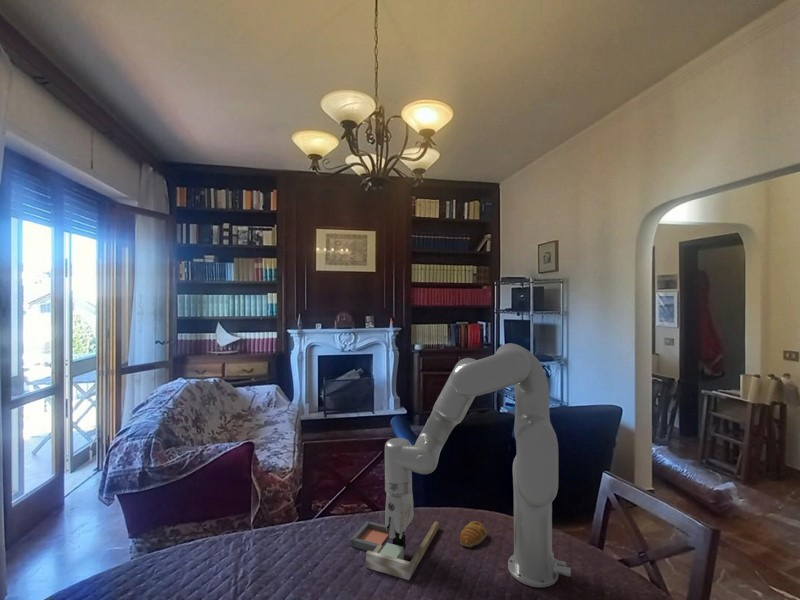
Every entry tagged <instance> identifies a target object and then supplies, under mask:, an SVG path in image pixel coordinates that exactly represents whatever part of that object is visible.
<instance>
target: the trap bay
mask: <svg viewBox="0 0 800 600" xmlns="http://www.w3.org/2000/svg"><path fill="white" fill-rule="evenodd" d="M389 530H390V529H389ZM389 530H388V531H387V530H386V526H385V524H381V523H378V522H373V521H369V520H366V521H365V522H364V523H363V524H362V525H361V527H360V528H359V529H358V530H357V531H356V532H355V533H354V535H352V537H351V538H350V539H349V547H352V548H354V549H358V550H359V549H360V550H362V551H366V552H367V551H368V550H369V551H372V552H373V551H374V549H375V548H376V547H377V545H378V544H380V545H382V546H383V544H384V543H385V541H386V540H387V538H389Z"/></svg>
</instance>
